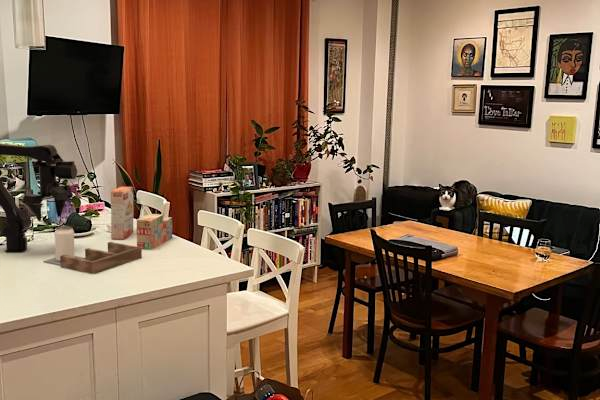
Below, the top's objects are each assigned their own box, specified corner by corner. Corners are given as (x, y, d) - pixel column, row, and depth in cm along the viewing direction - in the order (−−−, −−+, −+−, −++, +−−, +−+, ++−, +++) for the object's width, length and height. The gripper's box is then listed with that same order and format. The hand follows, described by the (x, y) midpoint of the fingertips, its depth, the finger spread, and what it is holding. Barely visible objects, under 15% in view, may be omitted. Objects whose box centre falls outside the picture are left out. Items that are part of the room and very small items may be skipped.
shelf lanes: (60, 267, 207) (60, 256, 206) (110, 251, 229) (110, 241, 228) (93, 274, 200) (93, 262, 200) (141, 257, 222) (141, 247, 222)
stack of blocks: (159, 237, 255) (158, 209, 253) (172, 238, 254) (172, 210, 252) (136, 249, 235) (136, 219, 232) (151, 250, 233) (151, 220, 231)
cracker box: (124, 240, 248) (124, 191, 244) (110, 239, 248) (109, 190, 244) (134, 232, 261) (134, 186, 258) (121, 232, 261) (120, 185, 258)
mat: (43, 262, 212) (43, 261, 212) (67, 255, 222) (67, 254, 222) (62, 266, 208) (62, 265, 208) (85, 259, 218) (85, 258, 218)
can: (59, 257, 218) (57, 225, 216) (76, 257, 218) (75, 225, 216) (53, 261, 211) (52, 229, 209) (71, 262, 212) (70, 229, 210)
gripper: (42, 183, 209) (44, 225, 212) (82, 177, 226) (83, 217, 229) (20, 180, 214) (23, 222, 217) (61, 175, 231) (63, 213, 233)
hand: (49, 218), depth 224 cm, fingers open, 9 cm apart
